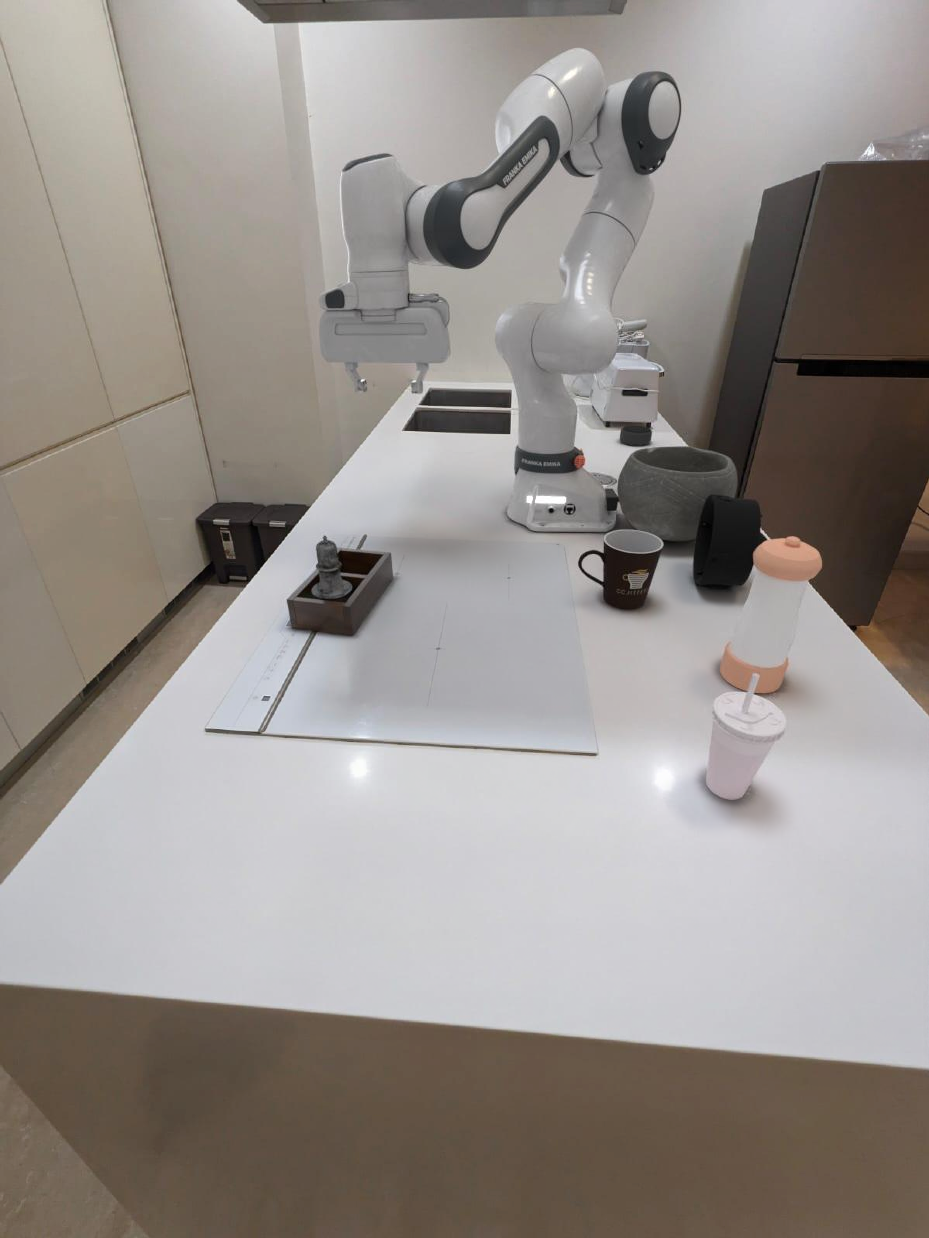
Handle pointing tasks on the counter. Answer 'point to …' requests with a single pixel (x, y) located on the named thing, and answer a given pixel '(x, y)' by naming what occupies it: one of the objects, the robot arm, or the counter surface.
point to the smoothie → (741, 739)
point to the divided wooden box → (368, 584)
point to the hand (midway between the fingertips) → (389, 392)
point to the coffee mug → (627, 567)
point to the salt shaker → (330, 574)
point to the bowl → (672, 488)
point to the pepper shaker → (770, 614)
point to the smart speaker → (635, 435)
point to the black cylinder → (726, 541)
